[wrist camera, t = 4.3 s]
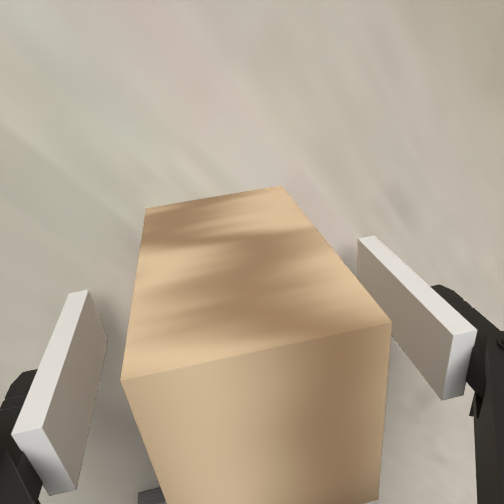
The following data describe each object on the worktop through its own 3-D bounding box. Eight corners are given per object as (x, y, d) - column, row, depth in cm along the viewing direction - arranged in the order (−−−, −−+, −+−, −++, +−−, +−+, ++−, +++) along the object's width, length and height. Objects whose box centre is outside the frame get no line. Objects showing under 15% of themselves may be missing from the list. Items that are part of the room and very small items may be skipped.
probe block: (178, 333, 20) (185, 551, 11) (146, 208, 17) (120, 380, 8) (290, 310, 21) (377, 499, 12) (281, 185, 17) (391, 322, 9)
